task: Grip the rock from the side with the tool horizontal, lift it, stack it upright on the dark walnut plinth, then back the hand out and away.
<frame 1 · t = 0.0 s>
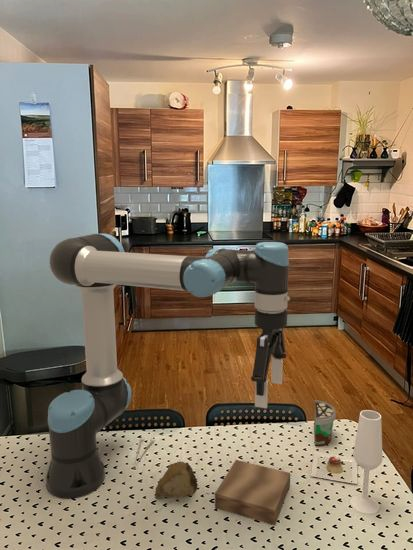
hand: (269, 394, 111), 28 cm above the table, tool pointing down, fingers open, 13 cm apart
champagne flute: (364, 505, 113), on the table
food container: (324, 439, 142), on the table
tweezers: (139, 458, 134), on the table
rock: (176, 493, 119), on the table
plinth: (253, 496, 116), on the table
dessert: (334, 470, 128), on the table
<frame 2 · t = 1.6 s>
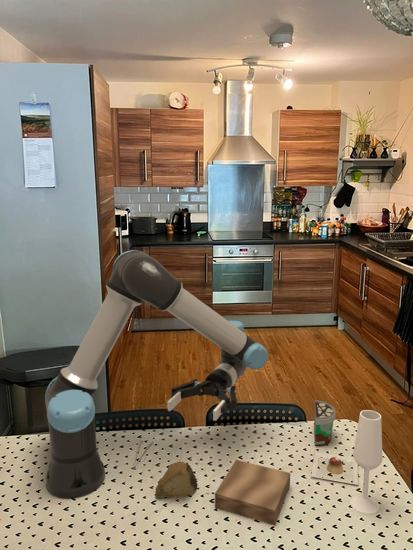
hand: (191, 411, 123), 18 cm above the table, tool horizontal, fingers open, 13 cm apart
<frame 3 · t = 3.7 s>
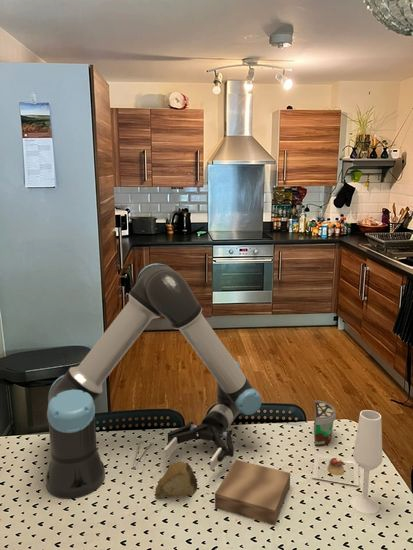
hand: (187, 459, 122), 6 cm above the table, tool horizontal, fingers open, 13 cm apart
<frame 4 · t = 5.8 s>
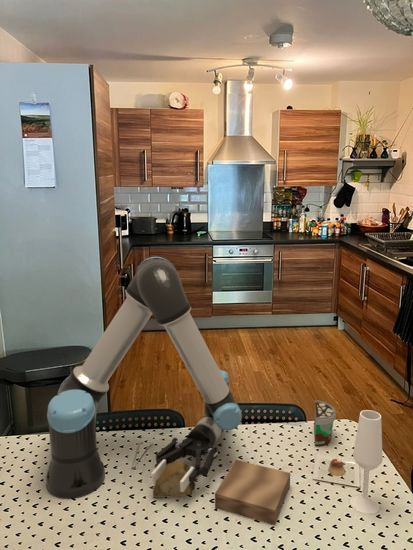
hand: (166, 482, 113), 6 cm above the table, tool horizontal, fingers closed on rock, 7 cm apart
rock: (173, 492, 119), on the table, touching gripper
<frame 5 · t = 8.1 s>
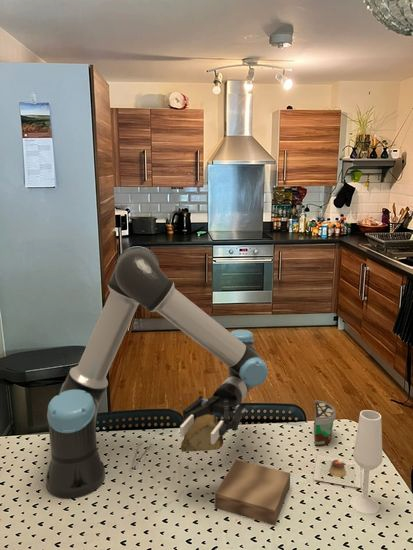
hand: (196, 435, 110), 19 cm above the table, tool horizontal, fingers closed on rock, 7 cm apart
rock: (202, 448, 116), point 13 cm above the table, touching gripper
when the fingers open (11 cm above the table, at t = 10.5 s): rock drops 1 cm, resting on plinth.
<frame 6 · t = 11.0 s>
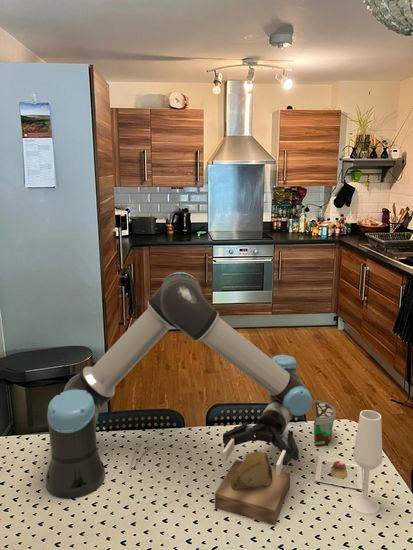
hand: (250, 463, 111), 11 cm above the table, tool horizontal, fingers open, 13 cm apart
rock: (251, 483, 116), point 4 cm above the table, touching plinth
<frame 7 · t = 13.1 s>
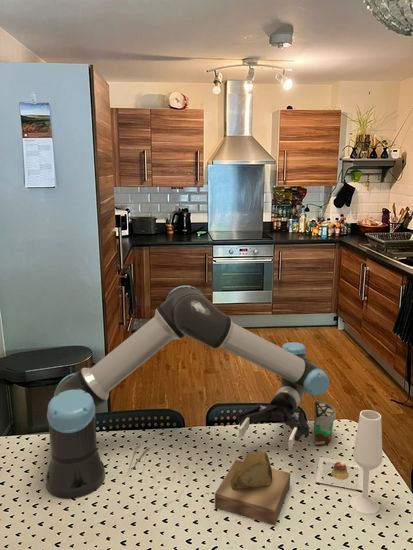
hand: (264, 438, 121), 12 cm above the table, tool horizontal, fingers open, 13 cm apart
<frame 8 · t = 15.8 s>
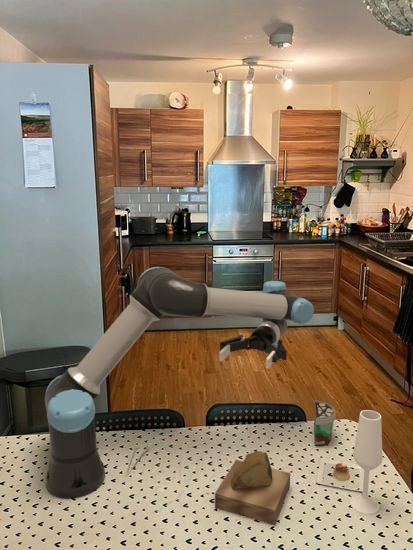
hand: (243, 360, 127), 30 cm above the table, tool horizontal, fingers open, 13 cm apart
at the end: rock inside the target area on the plinth (0.6 cm from its centre), point 3.8 cm above the plinth's base; rock tilted 1°; the gripper is holding nothing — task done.
